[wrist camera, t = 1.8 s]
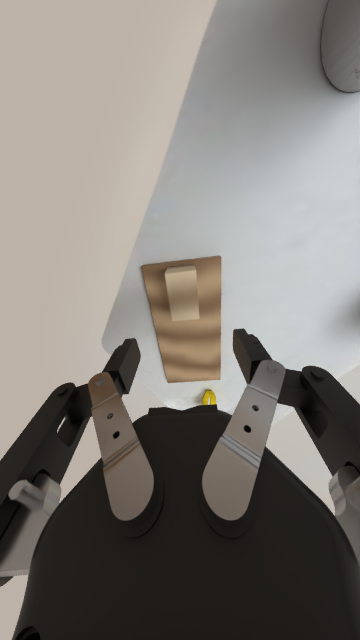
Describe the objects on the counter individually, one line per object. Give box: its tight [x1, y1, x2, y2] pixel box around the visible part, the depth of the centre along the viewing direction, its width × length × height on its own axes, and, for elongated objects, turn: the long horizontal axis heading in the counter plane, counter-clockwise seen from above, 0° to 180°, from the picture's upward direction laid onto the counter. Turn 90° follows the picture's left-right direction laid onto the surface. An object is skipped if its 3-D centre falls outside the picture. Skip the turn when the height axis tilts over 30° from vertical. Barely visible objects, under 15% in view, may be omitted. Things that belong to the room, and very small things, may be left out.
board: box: [141, 256, 221, 383], centre depth 31 cm, size 26×12×2 cm, turn 7°
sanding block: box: [165, 264, 199, 322], centre depth 24 cm, size 7×4×4 cm, turn 7°
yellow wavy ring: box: [202, 390, 216, 405], centre depth 38 cm, size 6×3×6 cm, turn 166°
